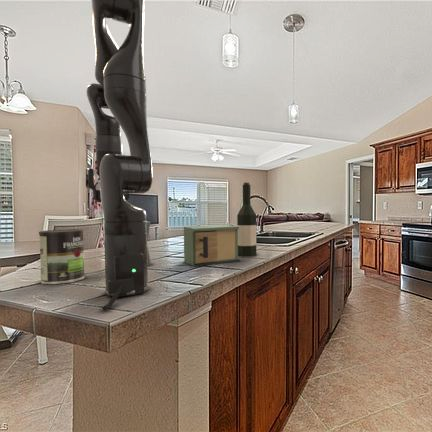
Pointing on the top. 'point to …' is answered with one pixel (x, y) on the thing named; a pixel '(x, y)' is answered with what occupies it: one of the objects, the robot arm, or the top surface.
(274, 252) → the top surface
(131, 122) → the robot arm
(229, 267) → the top surface
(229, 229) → the cupboard
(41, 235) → the coffee can
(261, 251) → the top surface
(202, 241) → the sliding door
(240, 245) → the wine bottle
